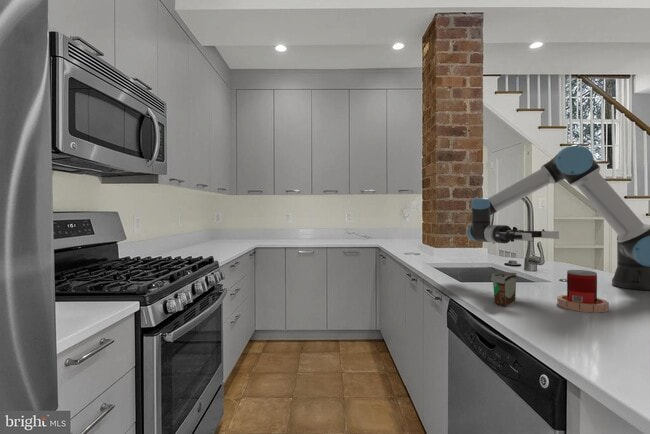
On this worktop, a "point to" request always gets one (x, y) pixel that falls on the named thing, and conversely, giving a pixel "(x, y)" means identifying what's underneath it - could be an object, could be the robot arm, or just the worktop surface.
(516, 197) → the robot arm
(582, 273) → the canned food
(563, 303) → the ring dish
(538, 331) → the worktop surface
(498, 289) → the food container
